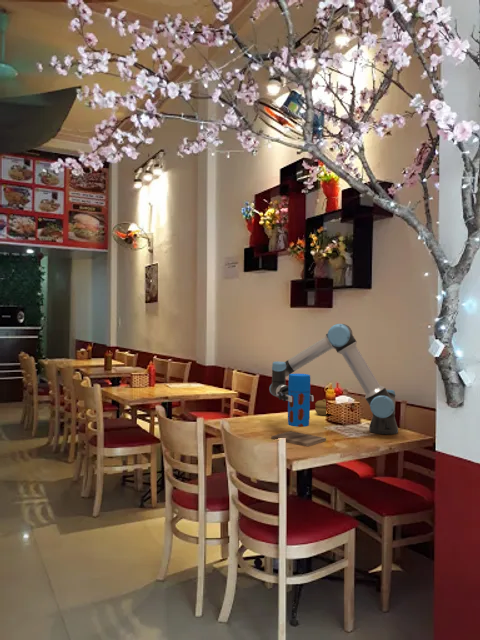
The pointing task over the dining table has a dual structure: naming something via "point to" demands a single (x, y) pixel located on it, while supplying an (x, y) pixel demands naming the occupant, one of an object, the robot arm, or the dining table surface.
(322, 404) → the pot
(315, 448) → the dining table surface
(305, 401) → the thermos
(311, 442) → the serving board
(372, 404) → the robot arm
